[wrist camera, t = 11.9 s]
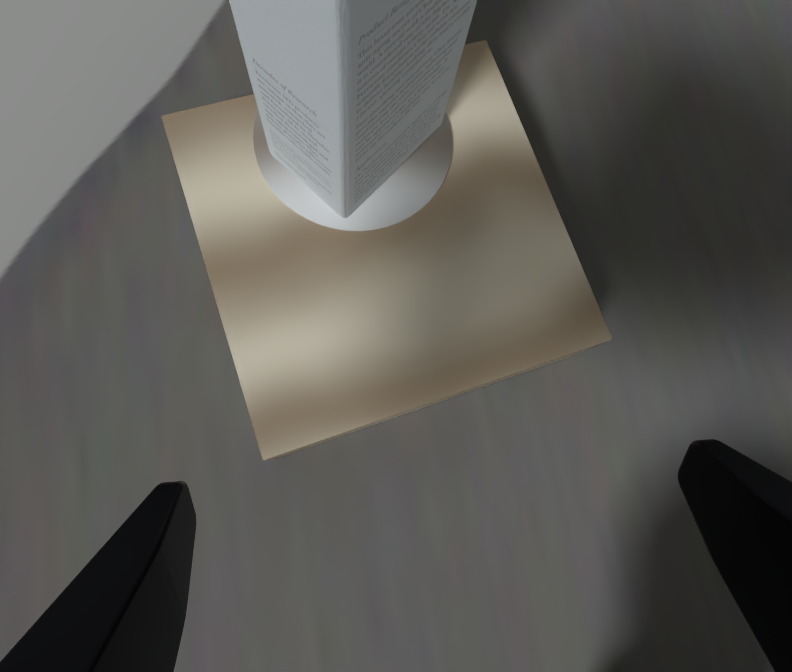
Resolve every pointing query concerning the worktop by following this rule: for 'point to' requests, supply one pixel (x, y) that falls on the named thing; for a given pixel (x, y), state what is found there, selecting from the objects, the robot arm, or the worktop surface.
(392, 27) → the skincare box
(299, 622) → the worktop surface
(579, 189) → the worktop surface
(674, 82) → the worktop surface
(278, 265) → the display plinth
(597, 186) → the worktop surface
